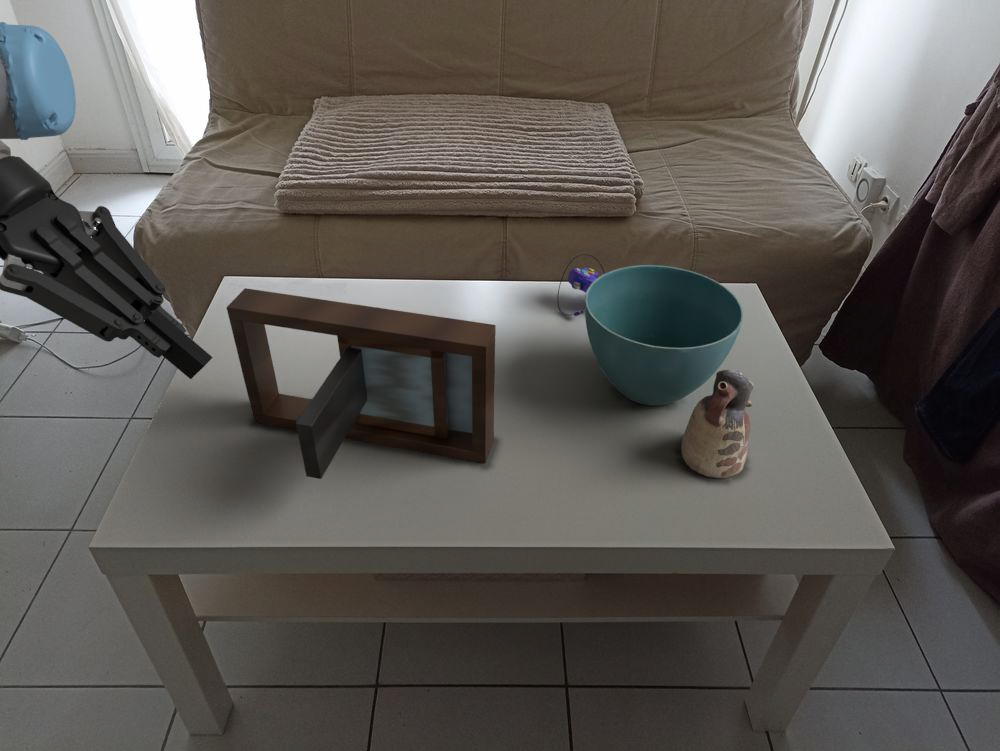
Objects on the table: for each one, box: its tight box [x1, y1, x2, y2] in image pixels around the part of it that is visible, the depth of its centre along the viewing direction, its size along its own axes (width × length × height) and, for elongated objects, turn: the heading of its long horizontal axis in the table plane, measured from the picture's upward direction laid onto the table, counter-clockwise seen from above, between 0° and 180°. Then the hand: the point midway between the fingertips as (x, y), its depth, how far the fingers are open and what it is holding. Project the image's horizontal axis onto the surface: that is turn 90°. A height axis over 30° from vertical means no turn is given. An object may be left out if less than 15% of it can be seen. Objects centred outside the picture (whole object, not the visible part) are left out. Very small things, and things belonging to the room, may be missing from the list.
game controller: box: [557, 253, 606, 317], centre depth 108 cm, size 10×8×10 cm
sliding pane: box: [296, 336, 449, 480], centre depth 77 cm, size 12×13×12 cm
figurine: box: [680, 369, 755, 479], centre depth 81 cm, size 7×7×12 cm
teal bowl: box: [584, 264, 744, 407], centre depth 91 cm, size 18×18×12 cm
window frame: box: [226, 287, 497, 464], centre depth 82 cm, size 28×4×16 cm, turn 77°
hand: (201, 368), depth 71 cm, fingers closed
